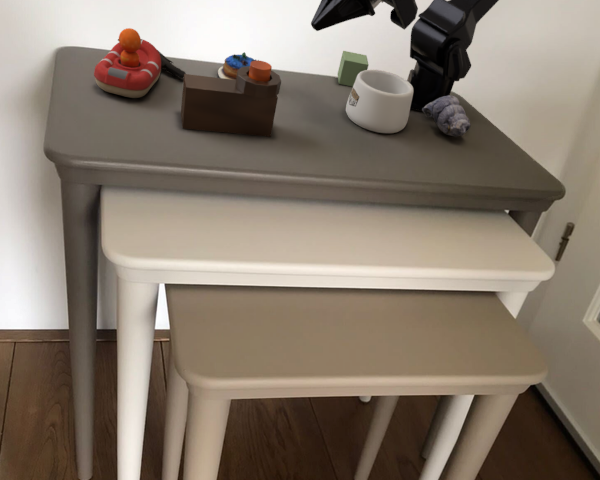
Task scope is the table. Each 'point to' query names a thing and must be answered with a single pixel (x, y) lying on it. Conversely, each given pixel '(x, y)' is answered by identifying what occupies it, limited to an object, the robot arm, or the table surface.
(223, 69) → the dessert
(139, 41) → the toy boat
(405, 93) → the mug
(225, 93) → the brown button base
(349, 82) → the green cube block
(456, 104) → the grub
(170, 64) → the bird model
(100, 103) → the table surface
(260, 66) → the button
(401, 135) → the table surface
